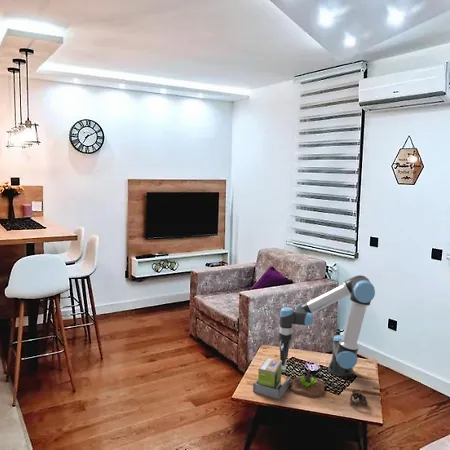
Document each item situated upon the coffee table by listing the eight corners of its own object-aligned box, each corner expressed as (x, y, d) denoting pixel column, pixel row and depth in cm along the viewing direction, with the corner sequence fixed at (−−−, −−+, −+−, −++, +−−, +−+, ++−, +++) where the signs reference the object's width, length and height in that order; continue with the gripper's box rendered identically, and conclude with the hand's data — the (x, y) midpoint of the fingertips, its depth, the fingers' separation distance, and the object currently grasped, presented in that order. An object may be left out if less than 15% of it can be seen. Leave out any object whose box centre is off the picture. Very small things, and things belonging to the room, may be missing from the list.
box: (290, 384, 271) (291, 376, 271) (279, 399, 255) (280, 391, 254) (265, 377, 278) (265, 370, 278) (252, 391, 262) (253, 383, 261)
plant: (328, 385, 273) (329, 367, 271) (320, 401, 256) (322, 382, 254) (295, 377, 281) (296, 360, 279) (286, 391, 264) (287, 373, 262)
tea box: (264, 380, 275) (266, 357, 273) (281, 384, 272) (282, 360, 269) (257, 392, 261) (258, 367, 259) (274, 396, 258) (275, 371, 255)
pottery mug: (371, 408, 250) (368, 399, 246) (356, 416, 250) (352, 407, 246) (361, 392, 261) (357, 383, 257) (346, 399, 260) (342, 390, 256)
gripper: (282, 328, 285) (281, 363, 289) (276, 335, 273) (274, 372, 277) (294, 330, 282) (292, 366, 285) (288, 338, 270) (286, 375, 274)
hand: (283, 369), depth 281 cm, fingers closed
